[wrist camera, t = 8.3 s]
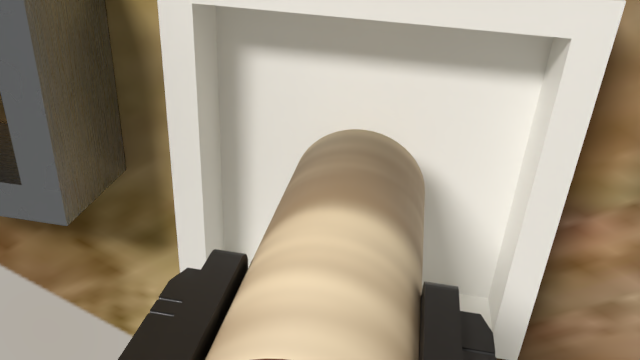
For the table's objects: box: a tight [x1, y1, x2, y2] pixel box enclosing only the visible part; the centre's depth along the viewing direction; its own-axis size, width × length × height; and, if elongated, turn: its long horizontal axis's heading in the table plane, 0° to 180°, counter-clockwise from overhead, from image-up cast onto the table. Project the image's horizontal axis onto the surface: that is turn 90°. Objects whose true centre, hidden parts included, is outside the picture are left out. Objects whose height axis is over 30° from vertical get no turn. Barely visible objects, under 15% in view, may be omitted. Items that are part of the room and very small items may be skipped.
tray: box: [157, 0, 626, 360], centre depth 18 cm, size 12×12×2 cm
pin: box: [205, 129, 425, 360], centre depth 13 cm, size 4×4×10 cm
